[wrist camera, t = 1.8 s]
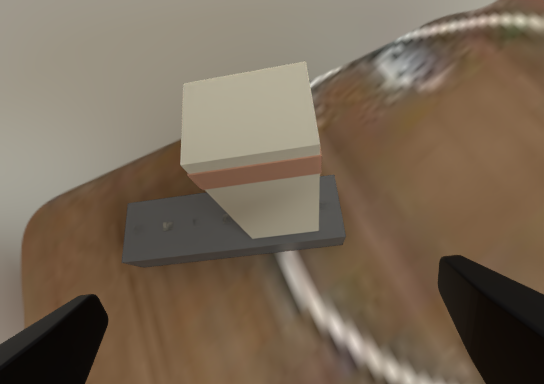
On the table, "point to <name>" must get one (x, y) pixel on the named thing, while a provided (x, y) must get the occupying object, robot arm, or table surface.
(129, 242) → the gray rectangular bar
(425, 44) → the table surface
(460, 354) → the table surface
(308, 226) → the cream tall block
